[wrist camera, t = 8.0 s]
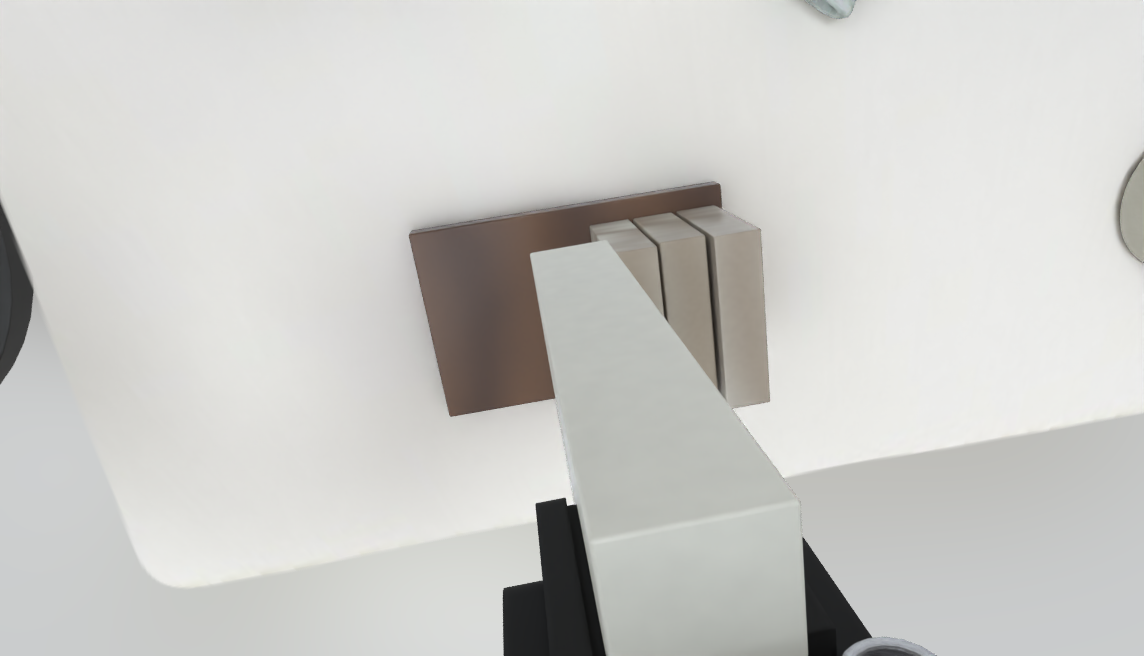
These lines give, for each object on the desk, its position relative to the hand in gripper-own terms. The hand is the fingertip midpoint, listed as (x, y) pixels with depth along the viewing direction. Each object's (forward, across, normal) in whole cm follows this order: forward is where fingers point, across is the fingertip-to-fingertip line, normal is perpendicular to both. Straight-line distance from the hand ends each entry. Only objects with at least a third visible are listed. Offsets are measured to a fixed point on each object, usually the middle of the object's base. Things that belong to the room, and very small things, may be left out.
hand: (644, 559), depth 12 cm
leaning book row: (+25, -1, +3) cm, 25 cm away
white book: (+7, 0, 0) cm, 7 cm away
